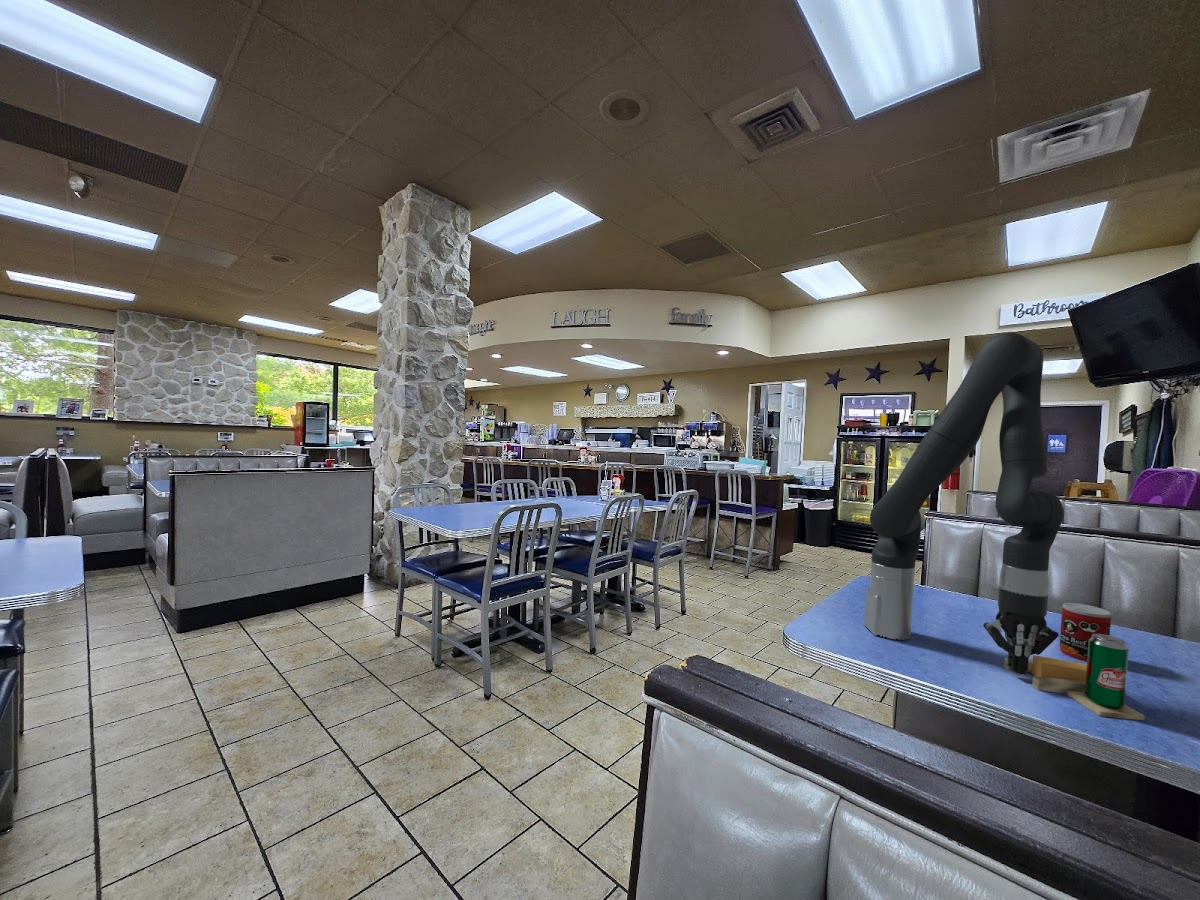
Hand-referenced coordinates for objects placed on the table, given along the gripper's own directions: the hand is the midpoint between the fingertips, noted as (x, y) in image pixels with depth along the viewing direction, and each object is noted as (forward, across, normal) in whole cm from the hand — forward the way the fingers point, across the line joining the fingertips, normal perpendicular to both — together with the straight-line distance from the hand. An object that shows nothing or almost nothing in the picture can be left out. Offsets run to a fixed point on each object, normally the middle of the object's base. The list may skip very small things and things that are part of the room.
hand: (1017, 672), depth 99 cm
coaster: (+1, -9, +9) cm, 13 cm away
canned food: (+2, -24, -15) cm, 28 cm away
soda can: (+1, -9, +9) cm, 12 cm away
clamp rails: (+1, -8, 0) cm, 8 cm away
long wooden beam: (+2, -9, 0) cm, 10 cm away
